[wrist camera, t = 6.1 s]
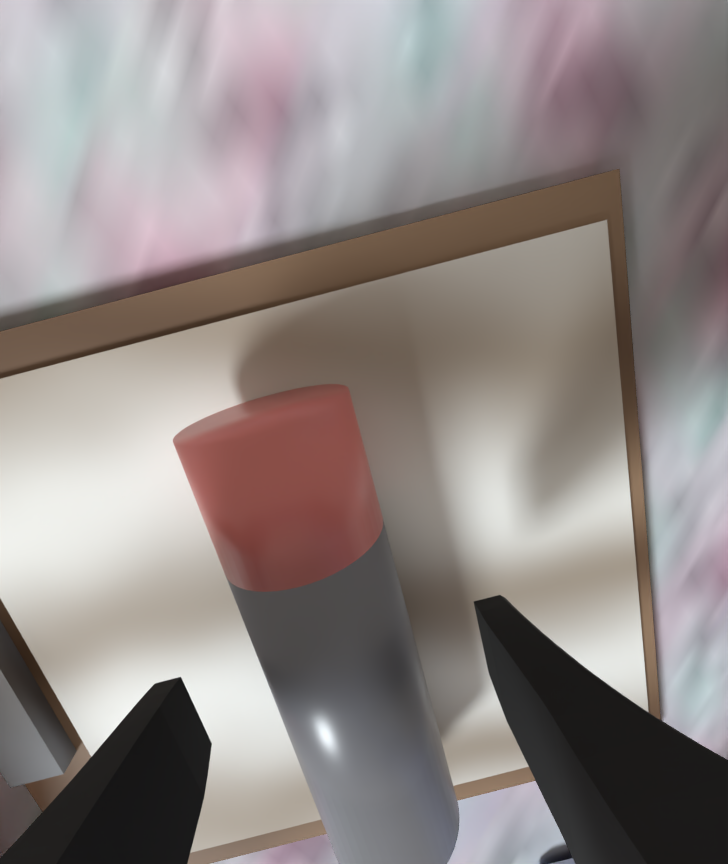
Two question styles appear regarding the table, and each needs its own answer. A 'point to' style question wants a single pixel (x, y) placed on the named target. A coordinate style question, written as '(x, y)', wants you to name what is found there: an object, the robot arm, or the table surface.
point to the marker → (327, 617)
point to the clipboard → (391, 472)
